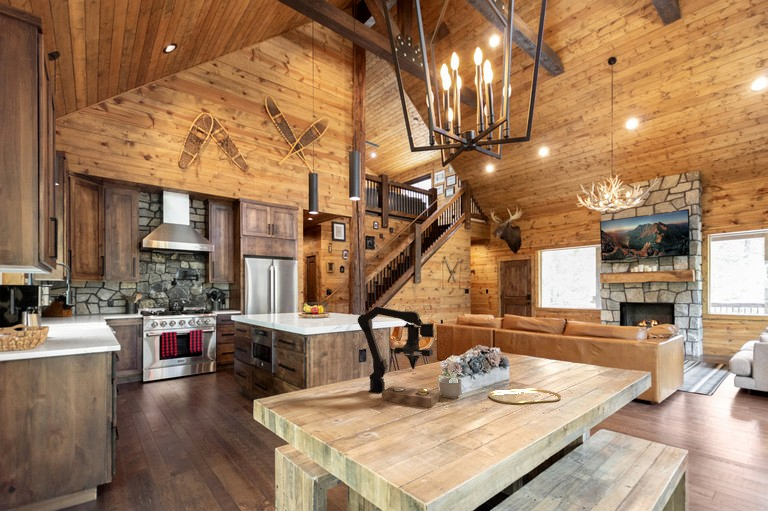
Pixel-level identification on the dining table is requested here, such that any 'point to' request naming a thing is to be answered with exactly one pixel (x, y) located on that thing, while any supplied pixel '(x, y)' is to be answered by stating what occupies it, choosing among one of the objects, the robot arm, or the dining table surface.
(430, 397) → the walnut block
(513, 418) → the dining table surface
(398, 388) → the grey plug
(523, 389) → the gold ring
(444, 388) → the teacup
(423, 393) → the brass plug
